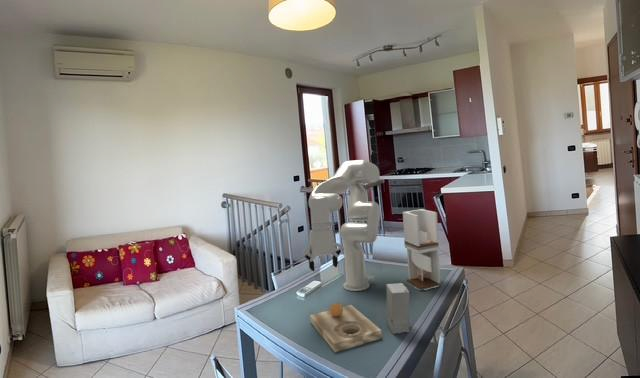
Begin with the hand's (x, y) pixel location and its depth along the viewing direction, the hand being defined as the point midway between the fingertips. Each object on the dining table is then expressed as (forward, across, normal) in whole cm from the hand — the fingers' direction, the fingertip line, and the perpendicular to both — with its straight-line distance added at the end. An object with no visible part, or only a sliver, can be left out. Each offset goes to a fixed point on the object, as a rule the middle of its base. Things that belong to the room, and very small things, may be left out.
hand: (323, 268), depth 147 cm
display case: (+19, -51, -7) cm, 54 cm away
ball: (+14, -1, +8) cm, 17 cm away
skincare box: (+20, -20, +23) cm, 36 cm away
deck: (+20, -2, +14) cm, 25 cm away
